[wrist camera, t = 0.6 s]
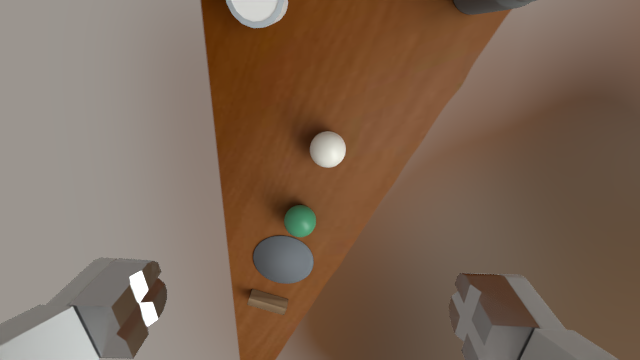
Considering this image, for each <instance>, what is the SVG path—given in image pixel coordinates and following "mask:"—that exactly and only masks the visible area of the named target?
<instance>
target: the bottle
mask: <svg viewBox="0 0 640 360" xmlns="http://www.w3.org/2000/svg"><path fill="white" fill-rule="evenodd" d="M453 1H454V4H455V6H456V7H457V9H458V10H460V11H461V12H463V13H465V14H481V13H488V12H495V11H502V10H509V9H514V8H518V7H522V6H525V5H527V4H529V3H530V2H532V1H536V0H453Z"/></svg>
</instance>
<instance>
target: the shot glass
mask: <svg viewBox="0 0 640 360" xmlns="http://www.w3.org/2000/svg"><path fill="white" fill-rule="evenodd" d="M226 3H227V5H228V7H229V9H230V11H231V13H232V15H233V16H234V17H235V18H236V19H237V20H239V21H240V22H241V23H242V24H244V25H247V26H249V27H252V28H262V27H266V26H269V25H271V24H274V23H275V22H277V21H279V20H281V18H282V17H283V16H284V14H285V13H286V10H287V6H288V0H226Z"/></svg>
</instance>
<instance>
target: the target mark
mask: <svg viewBox="0 0 640 360" xmlns="http://www.w3.org/2000/svg"><path fill="white" fill-rule="evenodd" d="M253 260H254V264H255V266H256V268H257V270H258V271H259V272H260V273H261V274H262V275H263V276H264V277H266V278H267V279H269V280H272V281H274V282H278V283H294V282H298V281H300V280H302V279H304V278H305V277H307V276H308V275H309V273H310V272H311V270H312V268H313V255H312V253H311V251H310V250H309V248H308V247H307V246H306V245H305V244H304V243H303V242H301V241H299V240H297V239H295V238H292V237H289V236H273V237H269V238H267V239H265V240H263V241H262V242H260V243H259V244H258V246H257V247H256V249H255V251H254V255H253Z"/></svg>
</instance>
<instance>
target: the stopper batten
mask: <svg viewBox="0 0 640 360" xmlns="http://www.w3.org/2000/svg"><path fill="white" fill-rule="evenodd" d="M287 304H288V299H286V298H282V297H279V296H275V295H272V294H268V293H265V292H261V291H258V290H255V289H252V291H251V294H250V297H249V300H248V303H247V305H250V306H253V307H257V308H260V309H264V310H268V311H271V312H275V313H278V314H282V315H284V314H285V311H286V309H287Z"/></svg>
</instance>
